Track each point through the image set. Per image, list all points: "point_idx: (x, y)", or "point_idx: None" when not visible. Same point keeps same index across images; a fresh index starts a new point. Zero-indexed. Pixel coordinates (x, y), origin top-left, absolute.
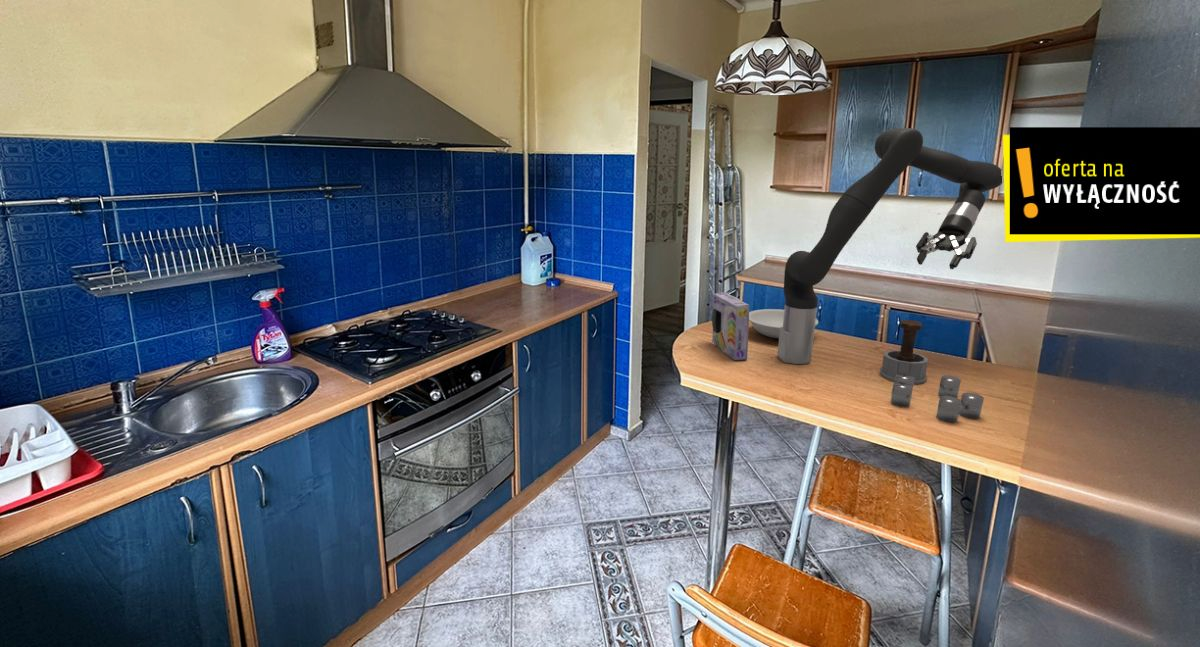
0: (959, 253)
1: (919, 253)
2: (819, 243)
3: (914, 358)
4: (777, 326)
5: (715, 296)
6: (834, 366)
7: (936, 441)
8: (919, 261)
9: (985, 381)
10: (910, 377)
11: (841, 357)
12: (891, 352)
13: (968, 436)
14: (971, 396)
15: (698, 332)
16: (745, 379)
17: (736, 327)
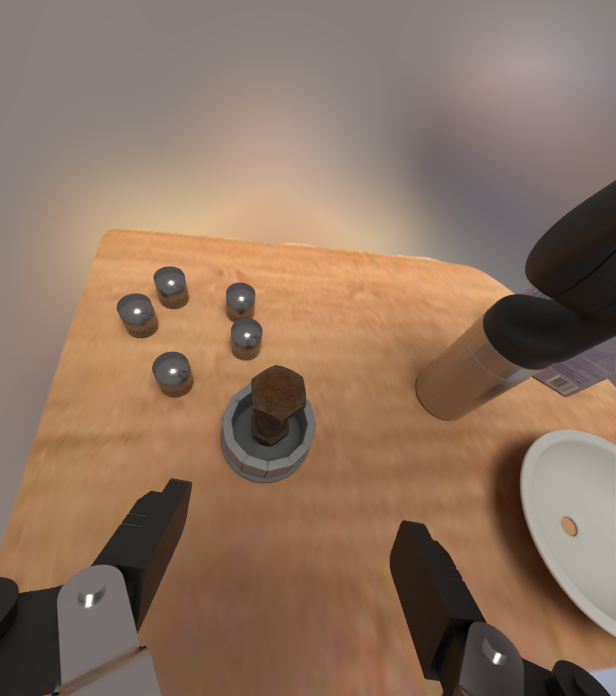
0: (88, 580)
1: (474, 602)
2: None
3: (252, 430)
4: (552, 438)
5: None
6: (379, 405)
7: (182, 239)
8: (405, 524)
9: (92, 542)
10: (238, 330)
11: (399, 469)
12: (304, 436)
13: (146, 265)
14: (136, 303)
15: None
16: (425, 282)
17: (525, 292)
